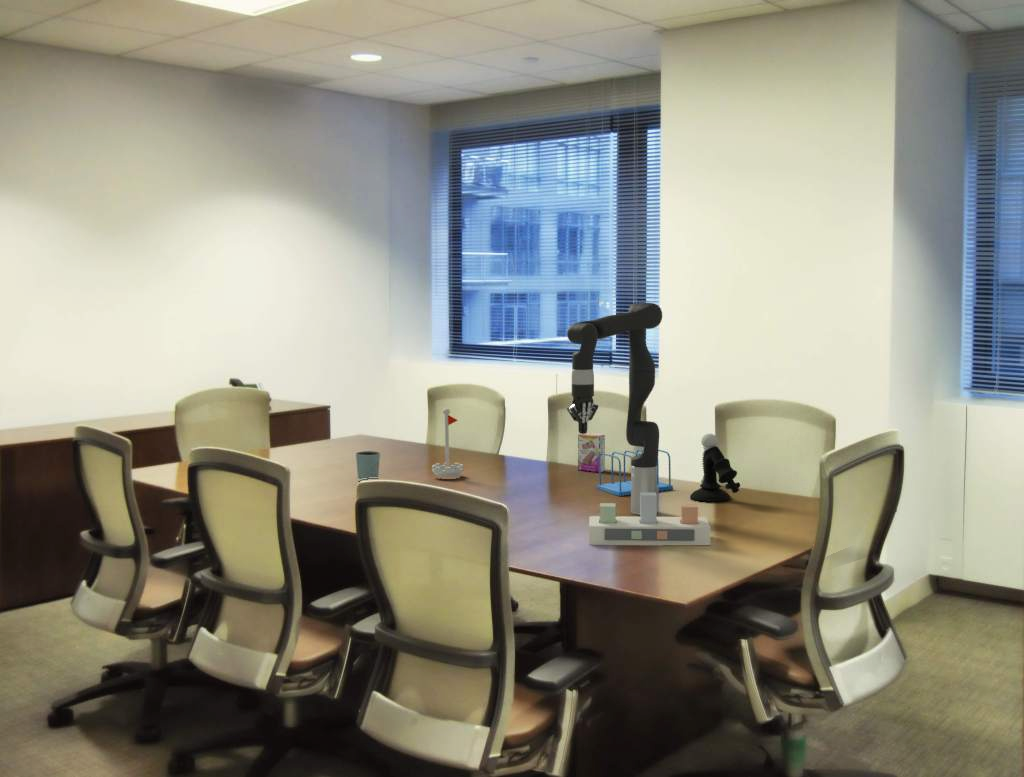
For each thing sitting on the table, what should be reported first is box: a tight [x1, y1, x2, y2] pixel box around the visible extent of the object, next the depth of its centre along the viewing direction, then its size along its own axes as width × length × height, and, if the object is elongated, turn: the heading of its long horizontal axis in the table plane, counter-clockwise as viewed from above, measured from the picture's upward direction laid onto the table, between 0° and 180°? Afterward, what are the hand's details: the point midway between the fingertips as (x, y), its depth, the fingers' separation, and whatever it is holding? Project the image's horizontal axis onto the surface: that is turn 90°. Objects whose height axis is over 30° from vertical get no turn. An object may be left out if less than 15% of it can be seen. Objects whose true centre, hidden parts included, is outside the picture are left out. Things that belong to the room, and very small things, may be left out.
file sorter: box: [596, 448, 674, 497], centre depth 414 cm, size 25×17×15 cm
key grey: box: [639, 492, 658, 524], centre depth 334 cm, size 5×5×10 cm
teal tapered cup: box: [355, 450, 381, 481], centre depth 440 cm, size 10×10×12 cm
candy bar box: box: [577, 432, 606, 473], centre depth 455 cm, size 11×5×16 cm, turn 58°
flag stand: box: [431, 407, 464, 477], centre depth 444 cm, size 13×13×30 cm
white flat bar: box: [588, 515, 711, 546], centre depth 334 cm, size 38×15×6 cm, turn 85°
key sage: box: [599, 502, 617, 523], centre depth 335 cm, size 5×5×10 cm
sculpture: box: [689, 433, 741, 504], centre depth 390 cm, size 15×24×25 cm, turn 27°
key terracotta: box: [680, 503, 699, 524], centre depth 333 cm, size 5×5×10 cm
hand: (583, 433), depth 351 cm, fingers closed
